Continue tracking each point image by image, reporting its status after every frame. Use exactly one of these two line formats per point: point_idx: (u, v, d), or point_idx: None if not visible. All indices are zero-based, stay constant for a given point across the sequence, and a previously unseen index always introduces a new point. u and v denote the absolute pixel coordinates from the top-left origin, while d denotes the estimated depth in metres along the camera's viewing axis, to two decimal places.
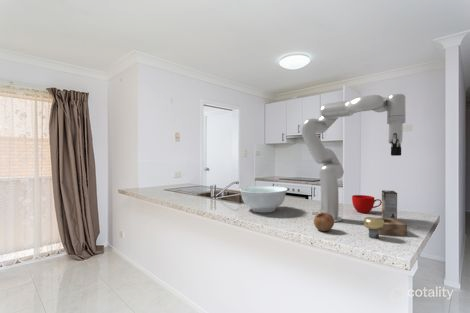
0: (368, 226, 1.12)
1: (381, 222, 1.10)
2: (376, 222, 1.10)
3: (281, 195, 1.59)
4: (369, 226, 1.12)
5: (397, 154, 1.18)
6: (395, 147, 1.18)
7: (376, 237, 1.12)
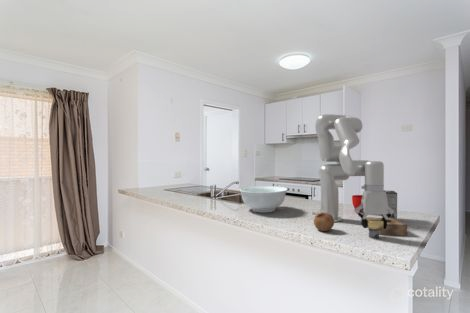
0: (368, 226, 1.12)
1: (381, 222, 1.10)
2: (376, 222, 1.10)
3: (281, 195, 1.59)
4: (369, 226, 1.12)
5: None
6: None
7: (376, 237, 1.12)
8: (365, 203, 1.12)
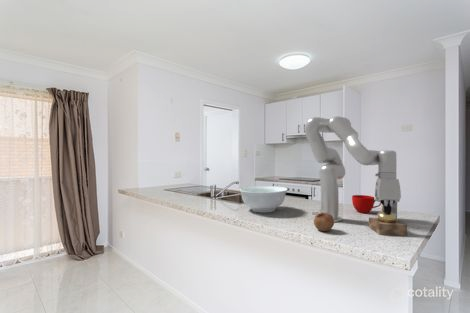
0: (381, 220, 1.21)
1: (394, 216, 1.19)
2: (389, 216, 1.19)
3: (281, 195, 1.59)
4: (382, 220, 1.21)
5: None
6: None
7: None
8: (379, 189, 1.21)
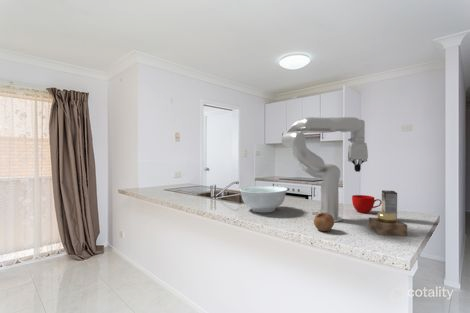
0: (381, 220, 1.21)
1: (394, 216, 1.19)
2: (389, 216, 1.19)
3: (281, 195, 1.59)
4: (382, 220, 1.21)
5: None
6: None
7: None
8: (350, 151, 1.49)
